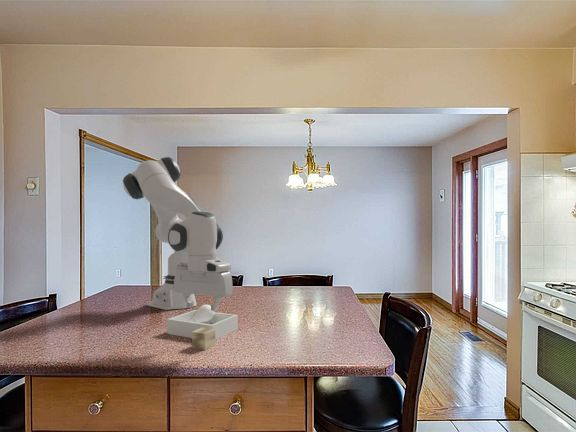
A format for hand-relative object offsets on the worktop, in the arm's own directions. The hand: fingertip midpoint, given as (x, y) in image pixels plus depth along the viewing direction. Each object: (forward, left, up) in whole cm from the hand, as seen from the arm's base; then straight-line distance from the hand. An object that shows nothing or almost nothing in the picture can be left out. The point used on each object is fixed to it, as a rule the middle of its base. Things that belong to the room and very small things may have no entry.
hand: (201, 309), depth 117 cm
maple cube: (0, +1, -12) cm, 12 cm away
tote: (-10, +13, -12) cm, 20 cm away
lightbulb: (-14, +10, -10) cm, 19 cm away
